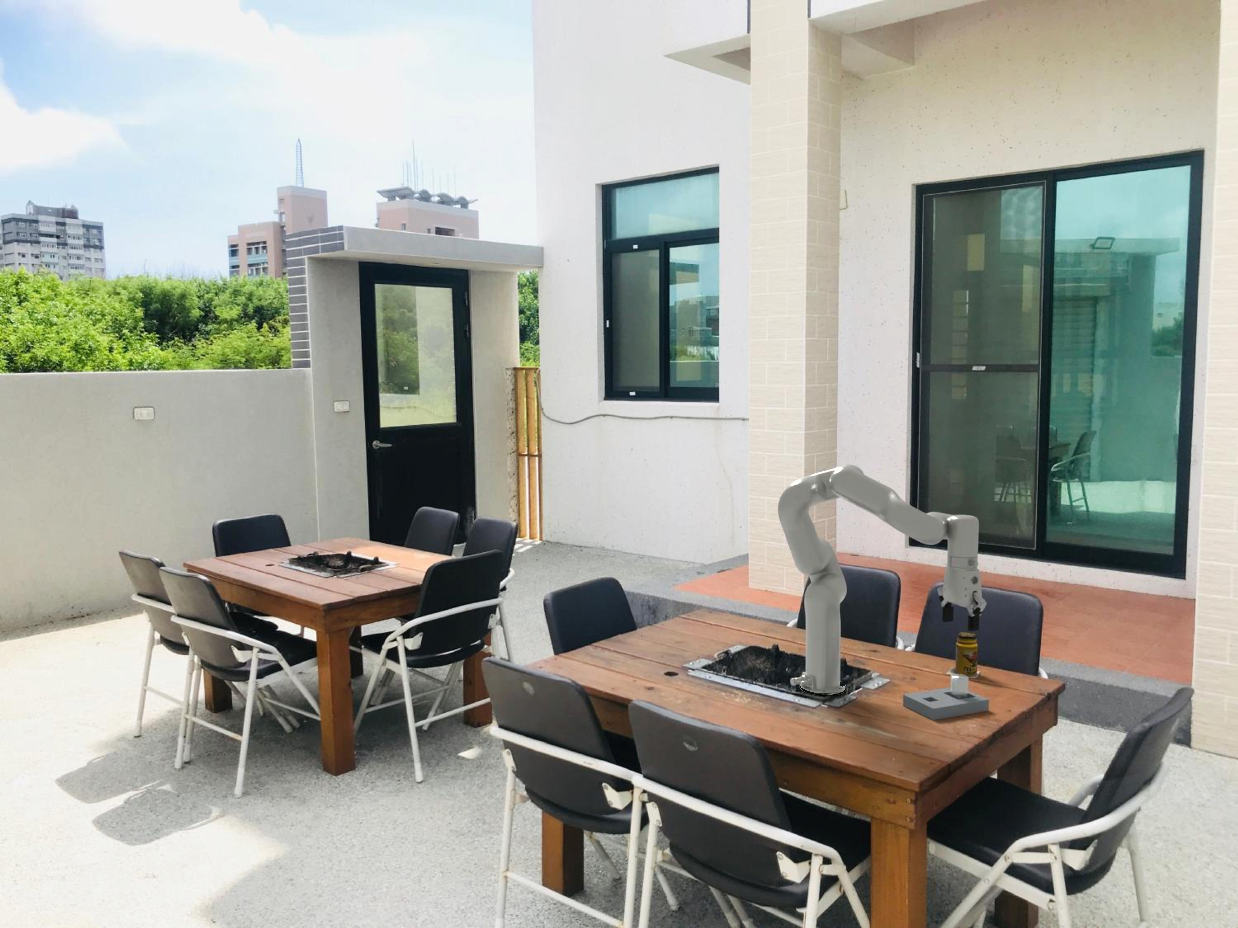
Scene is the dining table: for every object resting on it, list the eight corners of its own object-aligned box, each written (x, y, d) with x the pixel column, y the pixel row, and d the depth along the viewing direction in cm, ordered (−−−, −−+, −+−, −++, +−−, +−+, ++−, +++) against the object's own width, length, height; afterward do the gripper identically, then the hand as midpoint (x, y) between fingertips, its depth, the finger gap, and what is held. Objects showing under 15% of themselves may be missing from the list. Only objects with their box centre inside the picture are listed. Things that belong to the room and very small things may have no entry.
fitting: (958, 709, 255) (958, 679, 255) (946, 704, 259) (947, 674, 259) (971, 707, 257) (972, 677, 256) (959, 701, 261) (960, 673, 260)
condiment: (976, 678, 281) (977, 638, 280) (945, 674, 285) (946, 634, 284) (980, 671, 287) (981, 632, 286) (950, 667, 291) (951, 628, 290)
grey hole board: (933, 719, 248) (933, 708, 247) (903, 705, 259) (903, 694, 258) (988, 710, 254) (989, 699, 254) (957, 696, 265) (957, 685, 265)
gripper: (997, 567, 248) (995, 632, 249) (951, 555, 264) (949, 616, 266) (974, 569, 245) (971, 635, 247) (928, 557, 261) (927, 619, 263)
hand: (960, 625), depth 256 cm, fingers open, 9 cm apart
